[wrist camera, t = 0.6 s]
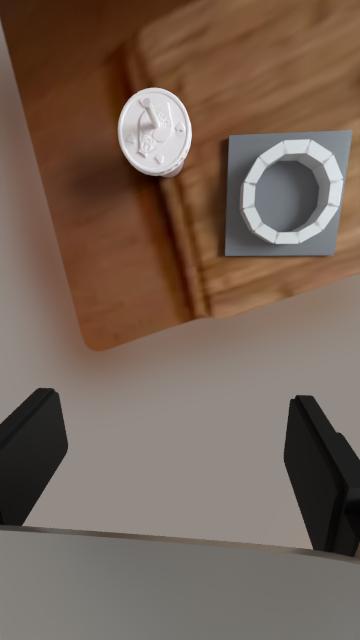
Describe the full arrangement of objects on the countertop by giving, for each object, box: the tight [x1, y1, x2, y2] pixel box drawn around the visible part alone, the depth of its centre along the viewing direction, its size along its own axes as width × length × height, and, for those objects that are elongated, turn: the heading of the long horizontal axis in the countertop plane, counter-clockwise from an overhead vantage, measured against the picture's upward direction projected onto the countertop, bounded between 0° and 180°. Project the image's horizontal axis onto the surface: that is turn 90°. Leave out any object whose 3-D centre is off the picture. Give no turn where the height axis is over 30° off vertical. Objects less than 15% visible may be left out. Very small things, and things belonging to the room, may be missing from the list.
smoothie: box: [118, 88, 192, 177], centre depth 26 cm, size 6×6×14 cm
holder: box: [224, 130, 353, 256], centre depth 31 cm, size 13×13×4 cm
